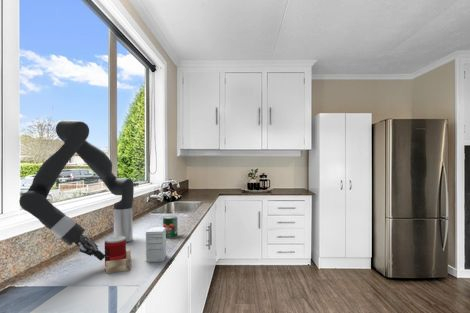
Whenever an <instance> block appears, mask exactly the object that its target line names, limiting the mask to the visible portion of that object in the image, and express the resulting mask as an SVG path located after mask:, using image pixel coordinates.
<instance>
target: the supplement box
mask: <svg viewBox="0 0 470 313" xmlns="http://www.w3.org/2000/svg"><path fill="white" fill-rule="evenodd" d="M145 257H146V260H145V261H146V263H151V262H152V263H155V262H156V263H157V262H164V261H165V259H166V257H167V239H166V227H163V226H162V227H159V226H158V227H148V229H147V230H146V231H145Z"/></svg>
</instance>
